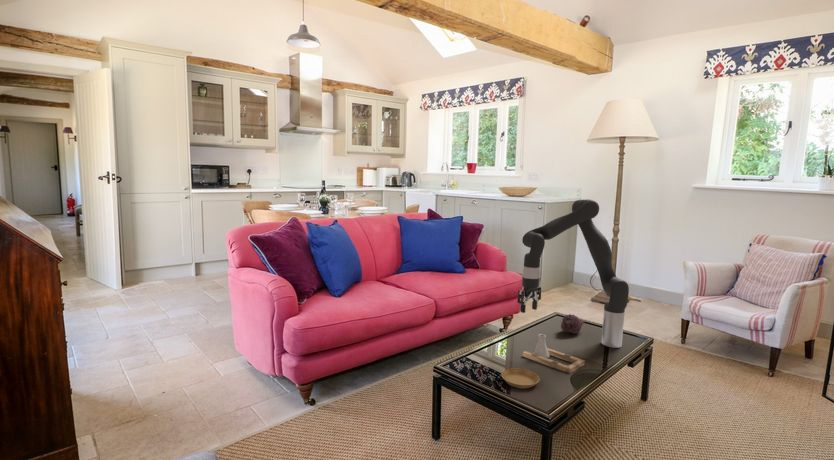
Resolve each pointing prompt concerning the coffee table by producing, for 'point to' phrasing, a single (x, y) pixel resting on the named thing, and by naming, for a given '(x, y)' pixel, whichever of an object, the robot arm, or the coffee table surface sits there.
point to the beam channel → (569, 369)
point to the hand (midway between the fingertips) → (528, 310)
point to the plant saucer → (520, 377)
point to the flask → (541, 347)
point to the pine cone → (571, 324)
